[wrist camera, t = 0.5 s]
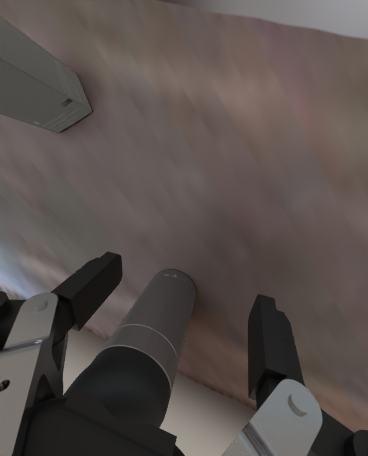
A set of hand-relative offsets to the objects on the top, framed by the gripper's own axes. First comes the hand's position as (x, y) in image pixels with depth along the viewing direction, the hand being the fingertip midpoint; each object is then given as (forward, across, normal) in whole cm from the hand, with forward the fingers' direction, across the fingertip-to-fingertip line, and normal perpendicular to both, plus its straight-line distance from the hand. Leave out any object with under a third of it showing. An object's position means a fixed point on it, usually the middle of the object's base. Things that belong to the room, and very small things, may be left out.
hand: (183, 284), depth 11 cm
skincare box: (+23, -28, +9) cm, 38 cm away
